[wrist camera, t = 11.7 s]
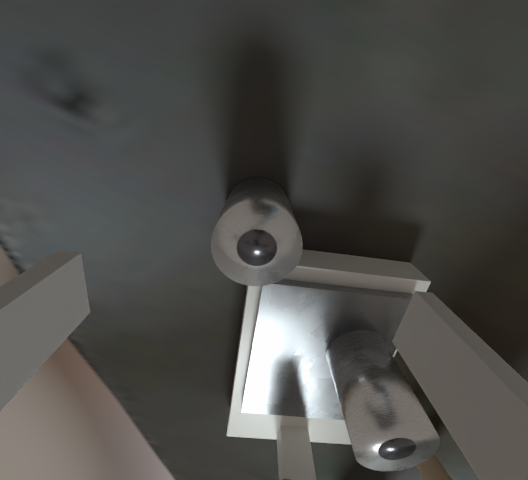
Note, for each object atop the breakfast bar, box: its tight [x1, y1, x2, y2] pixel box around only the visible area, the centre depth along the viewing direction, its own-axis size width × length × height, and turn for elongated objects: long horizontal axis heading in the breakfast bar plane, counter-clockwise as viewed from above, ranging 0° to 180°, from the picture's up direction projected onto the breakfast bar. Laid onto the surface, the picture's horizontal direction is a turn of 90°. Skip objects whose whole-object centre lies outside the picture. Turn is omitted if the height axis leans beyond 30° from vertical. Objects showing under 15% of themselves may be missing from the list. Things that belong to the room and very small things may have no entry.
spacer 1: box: [211, 177, 303, 286], centre depth 17 cm, size 5×5×7 cm
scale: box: [227, 249, 431, 480], centre depth 21 cm, size 24×14×14 cm, turn 172°
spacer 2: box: [326, 330, 440, 471], centre depth 18 cm, size 5×5×7 cm
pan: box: [241, 279, 413, 420], centre depth 22 cm, size 15×12×1 cm
